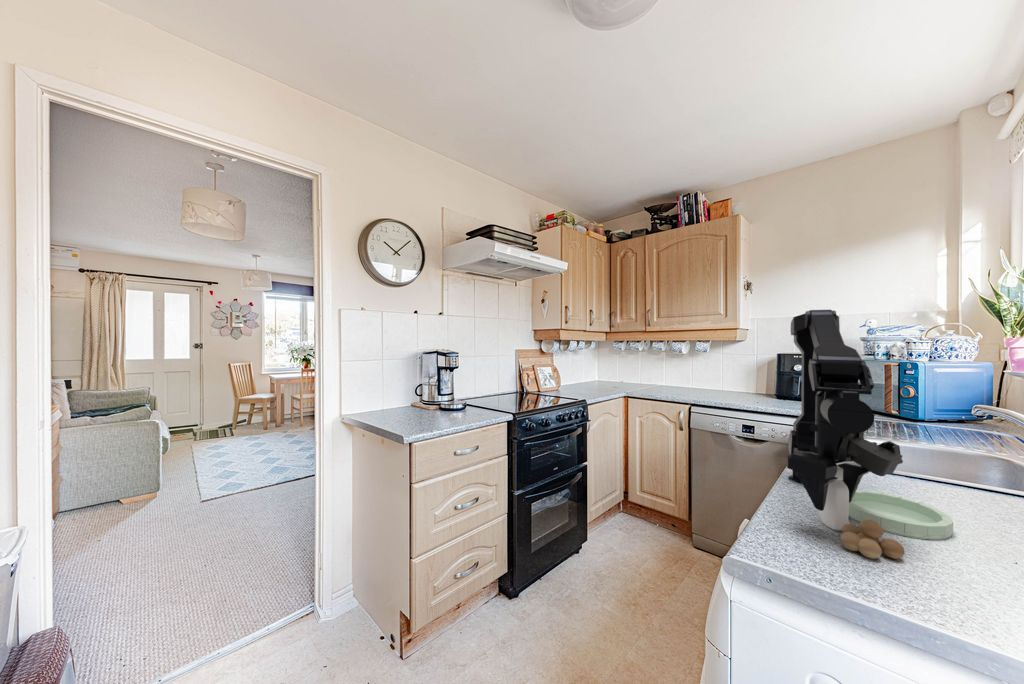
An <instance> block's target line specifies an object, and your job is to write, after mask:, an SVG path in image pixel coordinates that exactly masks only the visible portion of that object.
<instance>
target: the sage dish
mask: <svg viewBox="0 0 1024 684" xmlns="http://www.w3.org/2000/svg"><path fill="white" fill-rule="evenodd" d="M849 518H851V519H852V520H855V521H856V522H859V523H861V522H862V521H864V520H873V521H875V522H877V523H878V524H879V525H880V526H881V527H882V529H883V532H886V533H889V532H890V533H889V534H893V535H897V536H902V537H906V538H912V539H917V538H918V539H919V540H925V539H929V541H944V540H943V539H945V540H948V539H950V538H951V537H952V536H953V533H954V521H953V519H952V517H951V516H950V515H949V514H947V513H945V512H943V511H942V510H940V509H938V508H935V507H933V506H930V505H928V504H926V503H924V502H921V501H917V500H913V499H910V498H907V497H903V496H899V495H895V494H890V493H885V492H881V491H872V490H863V489H857V490H856V492H855V494H854V497H853V499H852V501H851V502H850V503H849Z"/></svg>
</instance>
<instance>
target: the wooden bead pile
mask: <svg viewBox="0 0 1024 684" xmlns="http://www.w3.org/2000/svg"><path fill="white" fill-rule="evenodd" d="M841 533H842V534H841V535H840V538H839V539H840V542H841V544H842V546H843V547H844V548H846V549H847V550H849V551H853V552H860V554H861V555H863V556H864V557H866V558H868V559H872V560H873V559H875V560H876V559H878V558H880V557H881V556H882V554H883V555H884V556H886V557H888V558H890V559H893V560H899V559H902V558H903V557H904V556H905V548H904V546H903V545H902V544H901V543H900V542H898V541H897V540H895V539H892V538H884V539H883V538H882V537H884V531H883V529H882V527H881V526H880V525H879V524H878V523H877V522H875V521H873V520H864V521H862V522H859V526H858V525H857V524H854V523H848V524H845V525H844V526H843V527H842V531H841ZM880 538H882V539H881V540H879V539H880Z"/></svg>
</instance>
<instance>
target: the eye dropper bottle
mask: <svg viewBox="0 0 1024 684" xmlns="http://www.w3.org/2000/svg"><path fill="white" fill-rule="evenodd" d="M835 477H837V478H838V479H837V480H835V481H833V482H831V483H829V485H828V491H827V496H826V502H825V507H824V510H823V511H820V510H818V511H819V512H818V513H819V514H818V517H819V521H820V522H821V523H822V524H824V526H826V527H828V528H829V529H831V530H833V531H839V532H842V527H843V526H844V525H845V524H850V523H849V518H850V517H849V490H848V487H847V486H846V484H845V483H844V482H843V481H842V480H843V469H842V468H841V467H839V466H838V465H837V473H836V475H835Z"/></svg>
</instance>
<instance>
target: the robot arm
mask: <svg viewBox="0 0 1024 684" xmlns="http://www.w3.org/2000/svg"><path fill="white" fill-rule="evenodd" d="M840 331H841V329H840V316H839V315H837V312H836V310H832V309H810V310H807V311H805V313H803V314H799V315H796V316H794V317H792V319H791V322H790V335H791V336H793V343H794V345H795V346H796V347H797V349H798V350H799V351H800V353H801V413H800V415H798V416H797V417H796V419H795V421H794V422H793V425H792V427H793V428H792V429H793V430H792V429H790V431H789V432H790V433H789V437H788V441H787V449H788V454H789V455H787V456H786V465H785V466H786V469H789V470H791V471H792V475H788V479H789V480H792V481H795V482H797V483H799V484H802V486H803V488H804V489H805V491H806V493H807V495H808V497H809V498H810V500H811V502H812V504H813V506H814V508H815V509H816V510H818V511H819V510H820V511H823V510H824V507H825V502H826V496H827V491H828V485H829V483H831V482H833V481H835V480H837V479H838V478H837V477H835V475H836V473H837V465H838V466H839V467H841V468H842V469H843V480H842V481H843V482H844V483H845V484H846V486H847V487H848V490H849V503H850V502H851V501H852V499H853V497H854V494H855V492H856V490H858V487H859V485H860V482H861V480H862V478H863V477H864V476H865V475H867V474H869V473H872V474H874V475H876V476H879V477H885V476H887V475H893V474H894V472H895V471H896V469H897V467H898V465H901V464H903V462H904V460H903V457H904V456H903V455H902V453H901V449H900V448H901V447H900V445H899V444H897V443H894V442H893V441H890V440H888V441H883V442H881V443H880V444H878V443H877V442H875V441H874V442H873V441H869V440H867V439H865V438H864V432H866V431H868V430H869V429H870V428H872V426H873V424H874V422H875V414H874V412H873V409H872V408H871V407H870V406H869V404H867V403H866V402H864V401H863V400H860V395H871V396H872V390H873V389H874V386H875V383H874V381H873V378H872V374H871V370H870V368H869V366H867V363H866V361H865V360H863V359H862V357H861V355H860V354H859V352H858V350H857V349H855V348H853V347H851V346H848V345H846V344H845V342H844V339H843V336H842V334H841V332H840Z"/></svg>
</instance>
